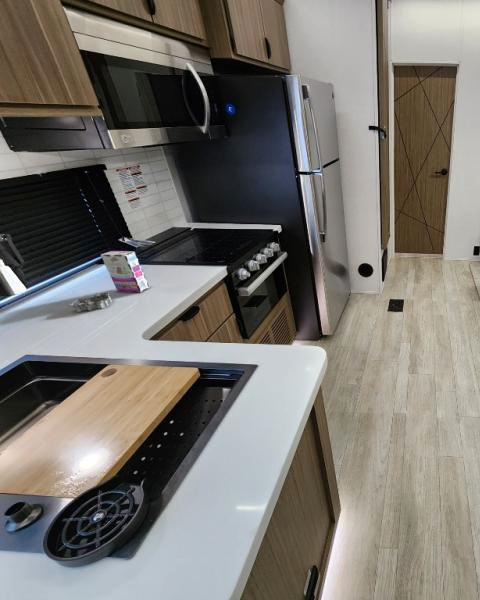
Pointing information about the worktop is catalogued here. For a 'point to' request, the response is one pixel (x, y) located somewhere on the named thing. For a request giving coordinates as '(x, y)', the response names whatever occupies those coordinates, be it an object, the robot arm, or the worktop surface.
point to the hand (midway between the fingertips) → (15, 291)
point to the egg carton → (92, 302)
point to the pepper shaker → (10, 280)
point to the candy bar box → (125, 271)
